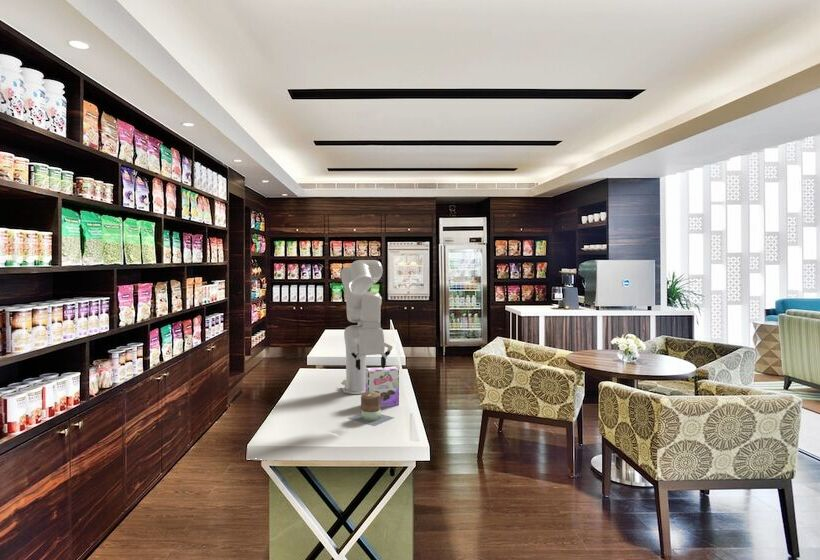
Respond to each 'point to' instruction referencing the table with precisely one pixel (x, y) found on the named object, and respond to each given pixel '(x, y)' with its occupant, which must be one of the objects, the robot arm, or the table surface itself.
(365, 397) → the brown short round piece
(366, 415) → the jar
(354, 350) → the robot arm
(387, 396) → the candy box
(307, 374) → the table surface
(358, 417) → the mat
